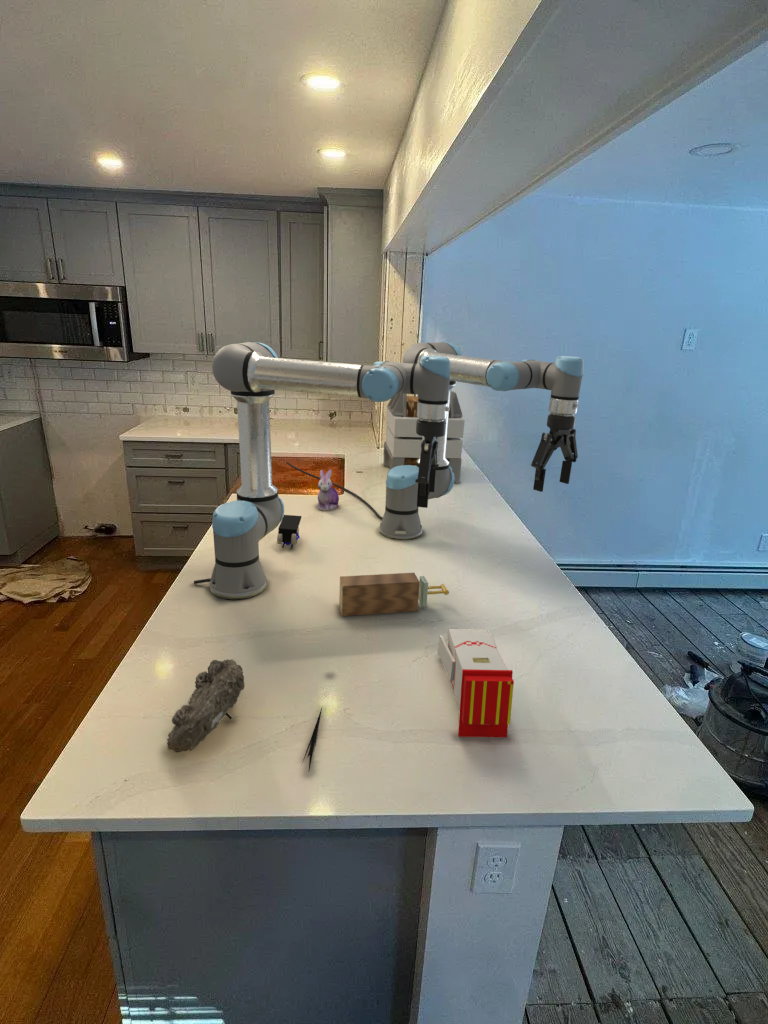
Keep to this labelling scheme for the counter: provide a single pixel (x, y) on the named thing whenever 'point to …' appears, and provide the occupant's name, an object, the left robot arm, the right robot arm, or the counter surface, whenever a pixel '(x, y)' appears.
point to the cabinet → (378, 594)
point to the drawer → (424, 591)
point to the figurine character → (289, 530)
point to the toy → (478, 682)
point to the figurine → (327, 492)
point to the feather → (313, 740)
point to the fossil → (206, 705)
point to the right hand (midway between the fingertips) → (551, 486)
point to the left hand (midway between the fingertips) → (425, 498)
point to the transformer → (407, 443)
